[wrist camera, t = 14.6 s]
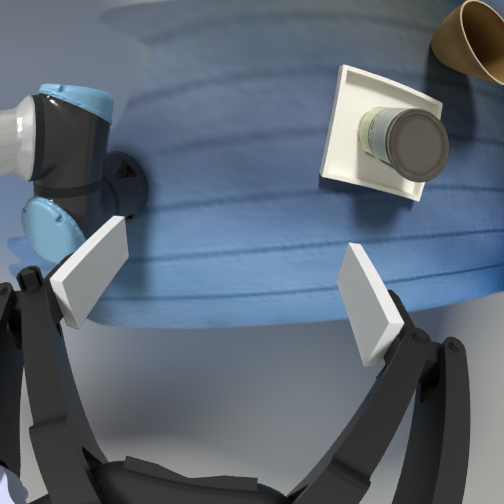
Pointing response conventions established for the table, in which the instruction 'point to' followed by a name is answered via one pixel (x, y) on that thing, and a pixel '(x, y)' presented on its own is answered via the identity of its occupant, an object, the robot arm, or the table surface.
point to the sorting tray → (346, 123)
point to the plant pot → (472, 41)
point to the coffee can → (405, 141)
